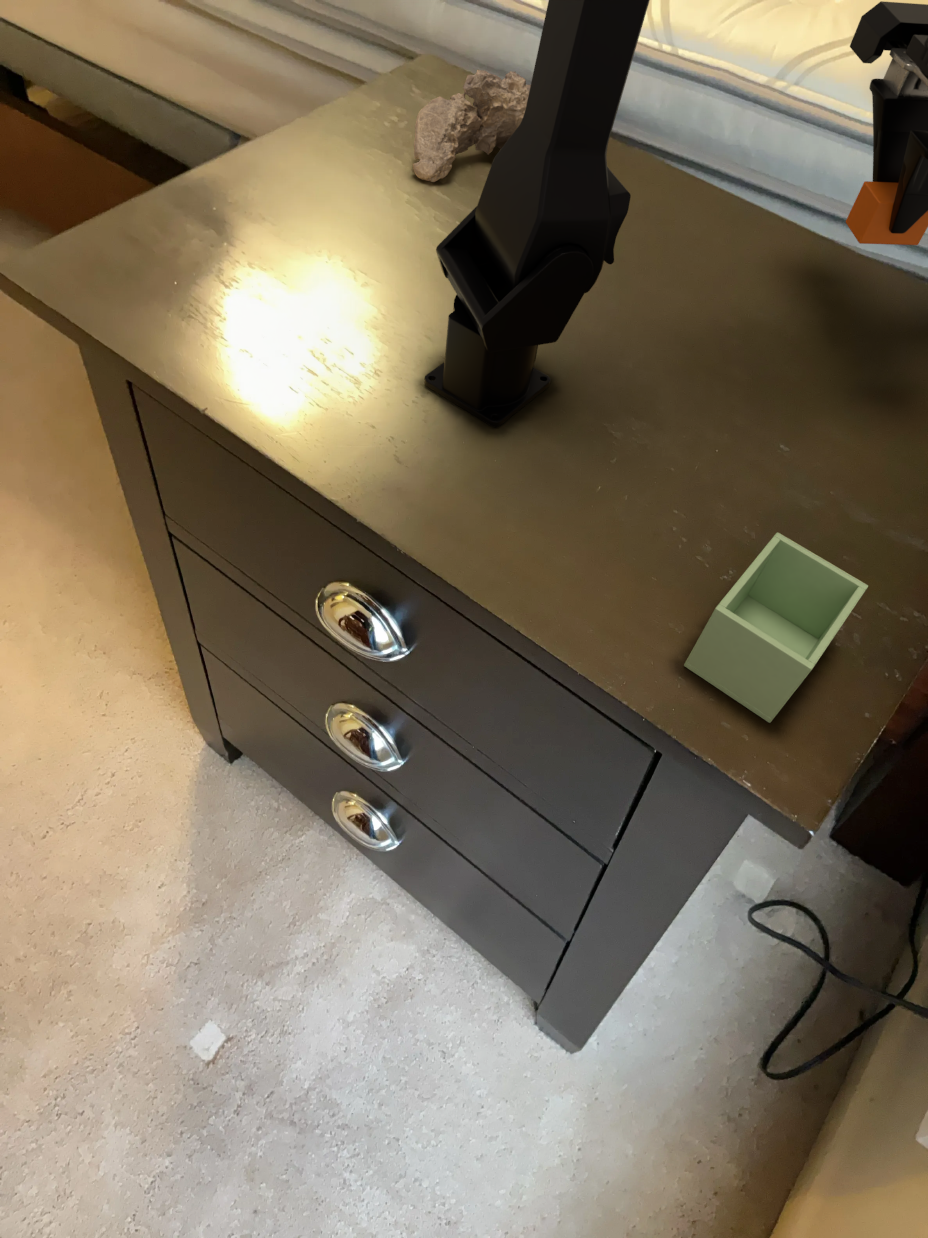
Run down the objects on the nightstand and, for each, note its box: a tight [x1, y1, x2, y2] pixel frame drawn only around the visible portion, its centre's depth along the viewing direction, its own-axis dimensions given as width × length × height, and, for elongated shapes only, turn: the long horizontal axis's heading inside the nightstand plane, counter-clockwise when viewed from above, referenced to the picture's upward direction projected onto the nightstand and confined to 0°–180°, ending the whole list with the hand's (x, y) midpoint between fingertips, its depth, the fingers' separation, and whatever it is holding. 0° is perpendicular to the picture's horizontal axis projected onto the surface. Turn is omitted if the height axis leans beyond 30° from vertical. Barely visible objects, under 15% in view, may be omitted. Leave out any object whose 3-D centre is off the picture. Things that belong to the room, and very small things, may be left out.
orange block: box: [845, 181, 928, 246], centre depth 60 cm, size 4×3×3 cm, turn 96°
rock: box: [412, 69, 531, 183], centre depth 75 cm, size 6×14×7 cm, turn 113°
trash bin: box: [683, 532, 869, 724], centre depth 46 cm, size 7×5×5 cm
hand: (887, 219), depth 61 cm, fingers closed on orange block, 3 cm apart
